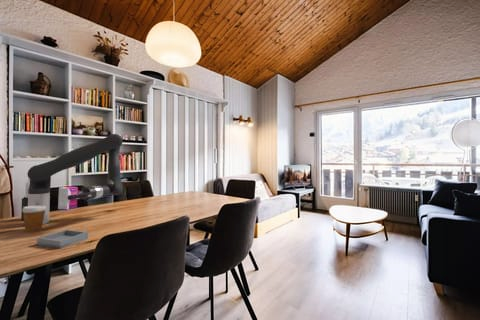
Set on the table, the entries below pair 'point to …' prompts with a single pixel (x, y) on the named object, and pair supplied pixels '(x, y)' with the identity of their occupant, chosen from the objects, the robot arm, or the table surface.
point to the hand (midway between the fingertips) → (63, 197)
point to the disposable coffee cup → (33, 217)
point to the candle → (25, 199)
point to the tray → (62, 238)
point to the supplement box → (63, 198)
